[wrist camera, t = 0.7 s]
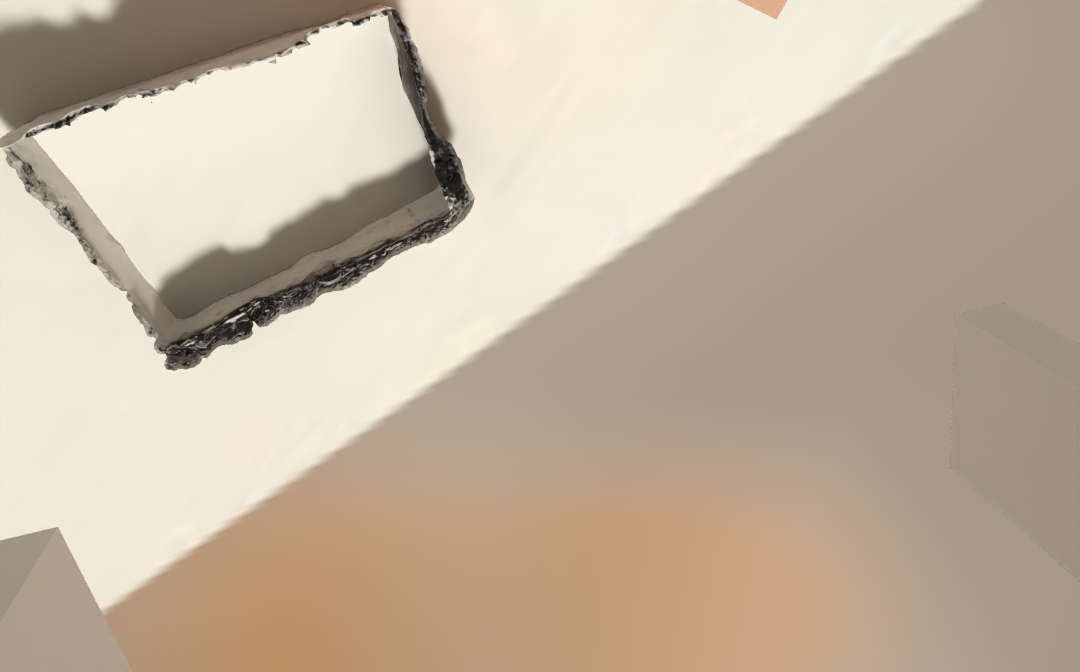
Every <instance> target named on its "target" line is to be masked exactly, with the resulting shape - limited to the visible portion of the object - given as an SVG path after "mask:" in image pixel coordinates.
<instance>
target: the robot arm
mask: <svg viewBox="0 0 1080 672" xmlns="http://www.w3.org/2000/svg"><path fill="white" fill-rule="evenodd" d="M953 369H954V370H953V397H952V426H951V453H950V468H951V469H952V470H953V471H954V472H955V473H956V474H958V475H959V476H960V477H961V478H962V479H963V480H964V481H966V482H967V483H968V484H969V485H970V486H971V487H972V488H973V489H975V490H976V491H977V492H978V493H979V494H980V495H982V496H983V497H984V498H985V499H986V500H987V501H988V502H989V503H991V504H992V505H993V506H994V507H995V508H996V509H998V510H999V511H1000V512H1001V513H1002V514H1003V515H1004V516H1006V517H1007V518H1008V519H1009V520H1010V521H1011V522H1013V523H1014V524H1015V525H1016V526H1017V527H1018V528H1019V529H1020V530H1022V531H1023V532H1024V533H1025V534H1026V535H1027V536H1029V537H1030V538H1031V539H1032V540H1033V541H1034V542H1035V543H1037V544H1038V545H1039V546H1040V547H1041V548H1042V549H1043V550H1044V551H1046V552H1047V553H1048V554H1049V555H1050V556H1051V557H1052V558H1054V559H1055V560H1056V561H1057V562H1058V563H1059V564H1060V565H1062V566H1063V567H1064V568H1065V569H1066V570H1067V571H1069V572H1070V573H1071V574H1072V575H1073V576H1074V577H1075V578H1076V579H1078V580H1079V581H1080V343H1078V342H1076V341H1075V340H1073V339H1071V338H1069V337H1067V336H1065V335H1063V334H1061V333H1059V332H1057V331H1056V330H1054V329H1052V328H1050V327H1048V326H1046V325H1044V324H1042V323H1041V322H1039V321H1037V320H1035V319H1033V318H1031V317H1029V316H1027V315H1025V314H1023V313H1022V312H1020V311H1018V310H1016V309H1014V308H1012V307H1010V306H1008V305H1007V304H1005V303H1000V304H996V305H992V306H987V307H983V308H979V309H975V310H971V311H967V312H962V313H958V314H956V315H955V340H954V368H953ZM0 672H132V671H131V669H130V667H129V665H128V663H127V661H126V659H125V658H124V655H123V653H122V651H121V649H120V648H119V646H118V644H117V642H116V640H115V638H114V636H113V634H112V632H111V630H110V628H109V626H108V624H107V622H106V620H105V618H104V616H103V614H102V612H101V610H100V608H99V606H98V605H97V603H96V601H95V599H94V597H93V595H92V593H91V591H90V589H89V587H88V585H87V583H86V581H85V579H84V577H83V575H82V573H81V571H80V569H79V567H78V565H77V563H76V562H75V560H74V558H73V556H72V554H71V552H70V550H69V548H68V546H67V544H66V542H65V540H64V538H63V536H62V534H61V532H60V530H59V528H58V527H56V528H52V529H47V530H43V531H39V532H35V533H31V534H26V535H22V536H18V537H14V538H10V539H5V540H1V541H0Z"/></svg>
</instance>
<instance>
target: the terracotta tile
mask: <svg viewBox="0 0 1080 672" xmlns="http://www.w3.org/2000/svg"><path fill="white" fill-rule="evenodd" d="M738 1H740V2H742V3H744V4H746V5H748V6H750V7H752V8H754V9H756V10H758V11H760V12H762V13H764V14H767V15H769V16H771V17H773V18H775V19H777V17H778V16H779V14H780V12H781V10H782V8H783V7H784V5H785V3H786V1H787V0H738Z"/></svg>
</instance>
